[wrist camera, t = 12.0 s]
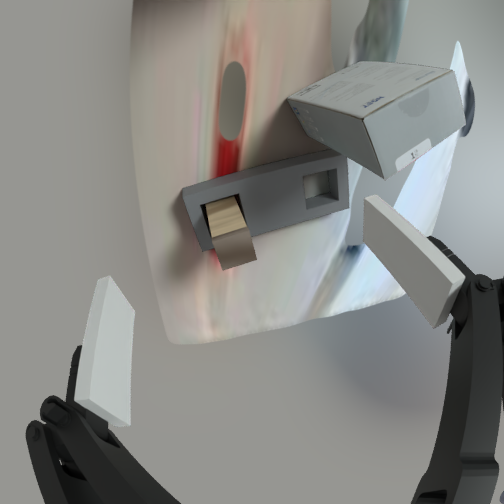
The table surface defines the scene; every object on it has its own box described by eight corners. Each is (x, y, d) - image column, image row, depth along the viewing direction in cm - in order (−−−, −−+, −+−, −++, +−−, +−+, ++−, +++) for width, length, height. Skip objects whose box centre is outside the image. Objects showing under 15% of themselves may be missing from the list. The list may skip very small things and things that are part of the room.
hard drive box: (307, 138, 42) (382, 183, 26) (284, 97, 37) (358, 117, 21) (378, 97, 39) (468, 125, 24) (361, 59, 35) (455, 67, 19)
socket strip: (182, 188, 42) (182, 197, 39) (336, 148, 44) (347, 154, 41) (201, 240, 48) (202, 252, 45) (340, 199, 50) (349, 208, 47)
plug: (203, 198, 44) (212, 241, 34) (231, 189, 44) (249, 230, 34) (212, 222, 47) (222, 270, 36) (238, 214, 47) (256, 259, 37)
